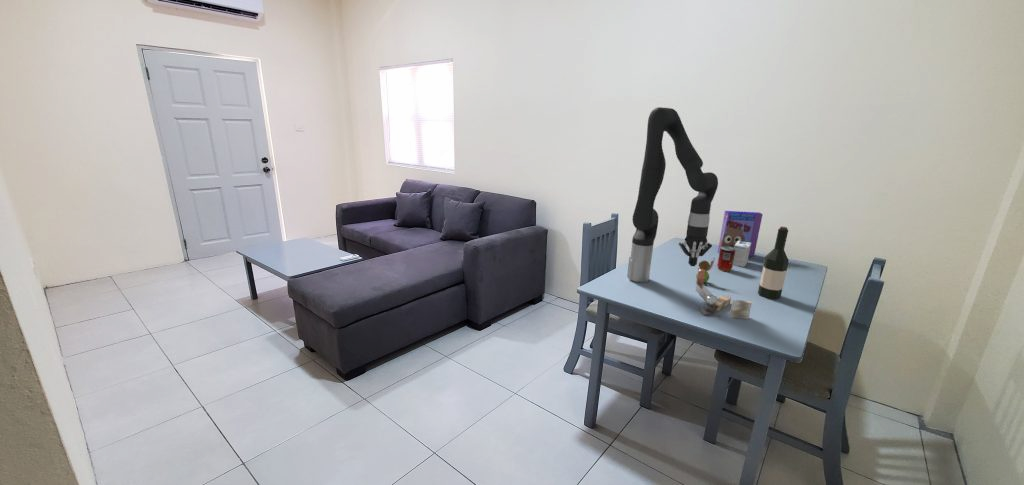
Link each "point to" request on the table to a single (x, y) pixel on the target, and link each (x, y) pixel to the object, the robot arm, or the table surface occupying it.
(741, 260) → the light bulb box
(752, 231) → the cereal box
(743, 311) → the base
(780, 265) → the wine bottle
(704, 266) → the snail figurine
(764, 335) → the table surface
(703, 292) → the bar
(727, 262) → the soda can
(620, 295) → the table surface
